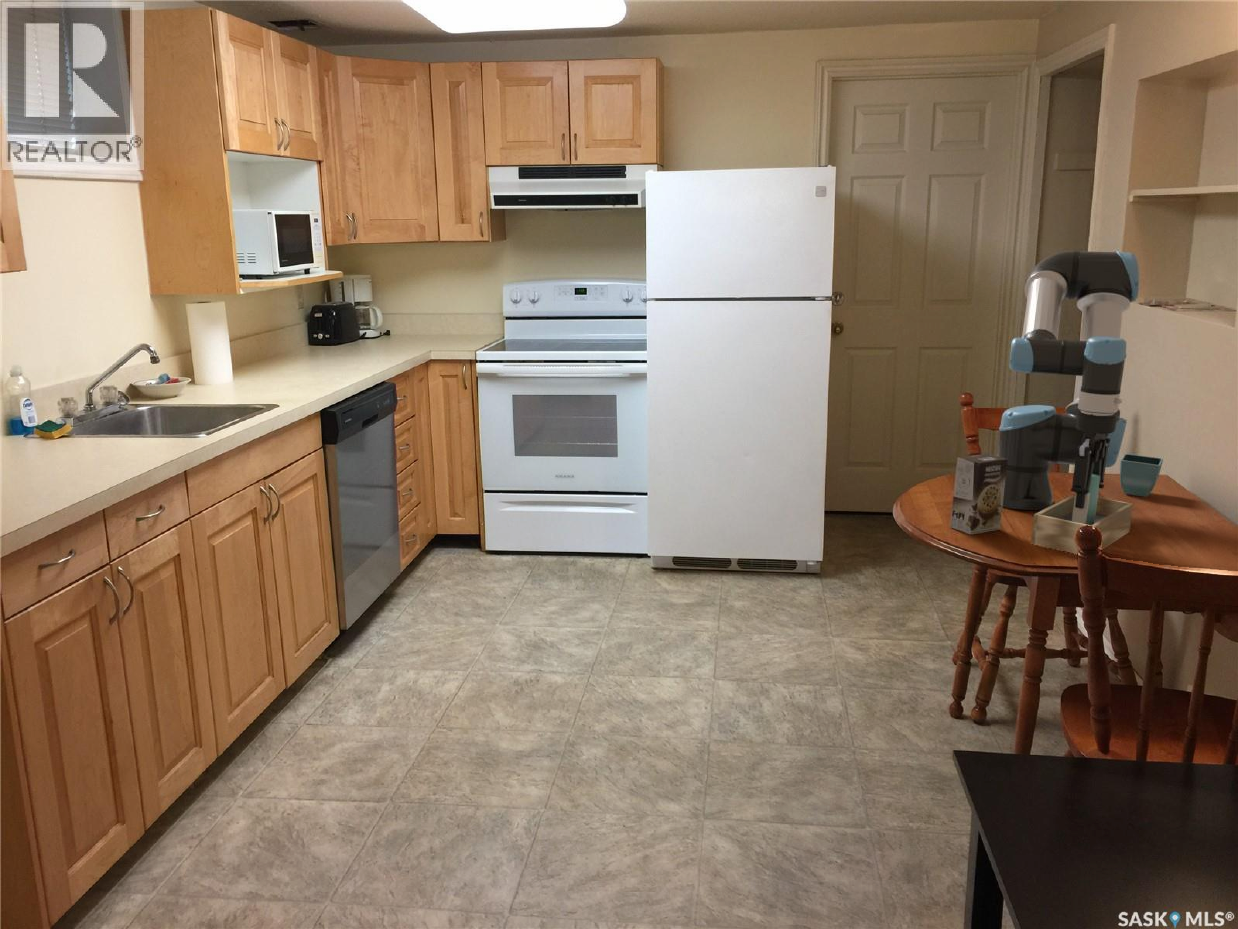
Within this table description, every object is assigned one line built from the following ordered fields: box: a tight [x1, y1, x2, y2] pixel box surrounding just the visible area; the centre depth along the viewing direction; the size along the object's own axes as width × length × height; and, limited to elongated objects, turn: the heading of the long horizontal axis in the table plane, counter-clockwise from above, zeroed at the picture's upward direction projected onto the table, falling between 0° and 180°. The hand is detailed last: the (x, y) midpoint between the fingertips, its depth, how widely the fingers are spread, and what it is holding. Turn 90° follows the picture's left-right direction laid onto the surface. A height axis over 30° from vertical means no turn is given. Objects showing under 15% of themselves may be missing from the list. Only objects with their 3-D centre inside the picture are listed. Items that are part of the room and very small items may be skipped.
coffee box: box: [949, 453, 1008, 535], centre depth 215 cm, size 9×6×16 cm
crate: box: [1030, 493, 1134, 556], centre depth 211 cm, size 12×24×6 cm, turn 136°
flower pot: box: [1119, 453, 1164, 498], centre depth 246 cm, size 9×9×9 cm
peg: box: [1073, 474, 1100, 525], centre depth 210 cm, size 4×4×14 cm
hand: (1083, 519), depth 211 cm, fingers open, 4 cm apart
